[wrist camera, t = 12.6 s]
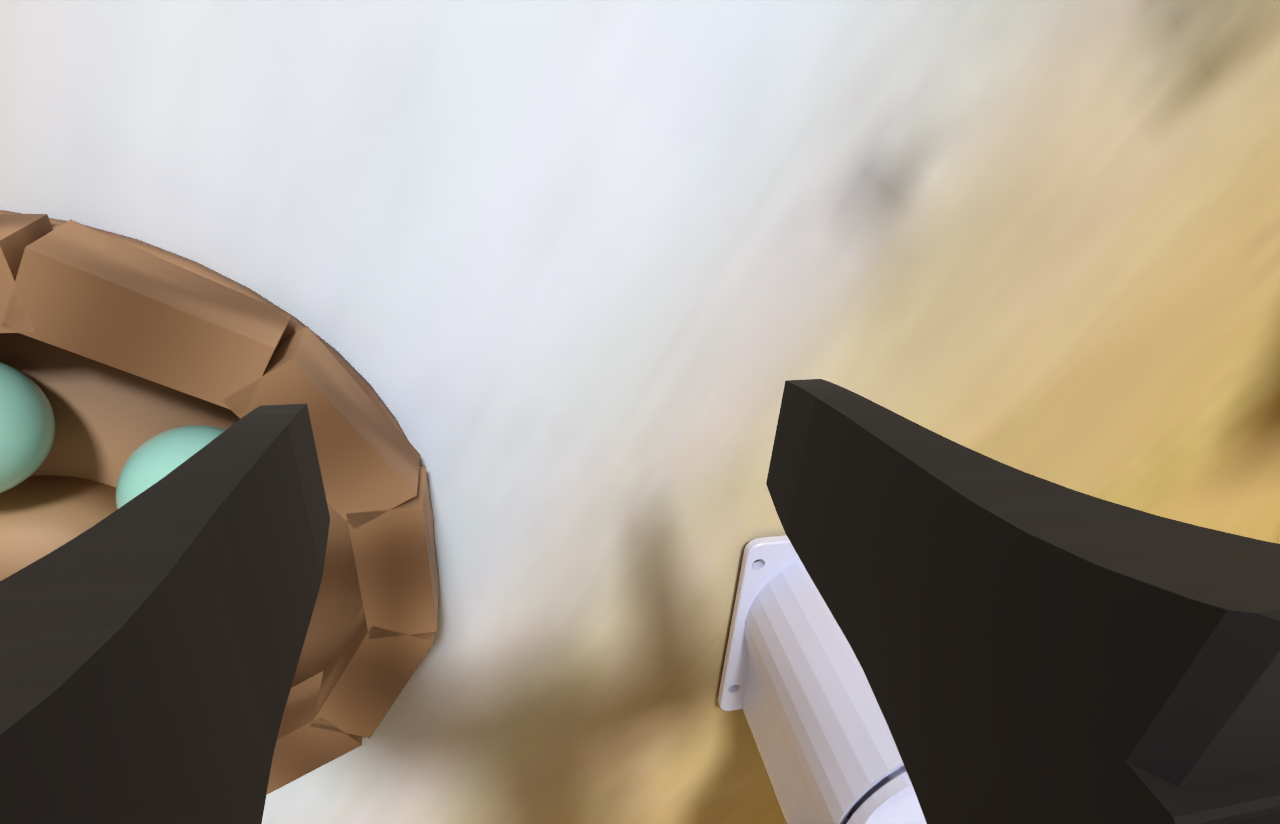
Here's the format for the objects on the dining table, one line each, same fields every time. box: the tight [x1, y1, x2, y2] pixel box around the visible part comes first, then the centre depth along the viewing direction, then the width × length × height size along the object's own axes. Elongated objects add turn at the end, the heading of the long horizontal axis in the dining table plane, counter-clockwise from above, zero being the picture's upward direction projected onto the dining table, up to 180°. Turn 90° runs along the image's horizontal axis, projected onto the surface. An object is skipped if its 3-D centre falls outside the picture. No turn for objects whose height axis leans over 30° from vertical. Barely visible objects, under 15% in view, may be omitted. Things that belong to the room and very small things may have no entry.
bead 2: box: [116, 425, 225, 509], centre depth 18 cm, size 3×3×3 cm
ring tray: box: [0, 210, 439, 795], centre depth 20 cm, size 20×20×3 cm
